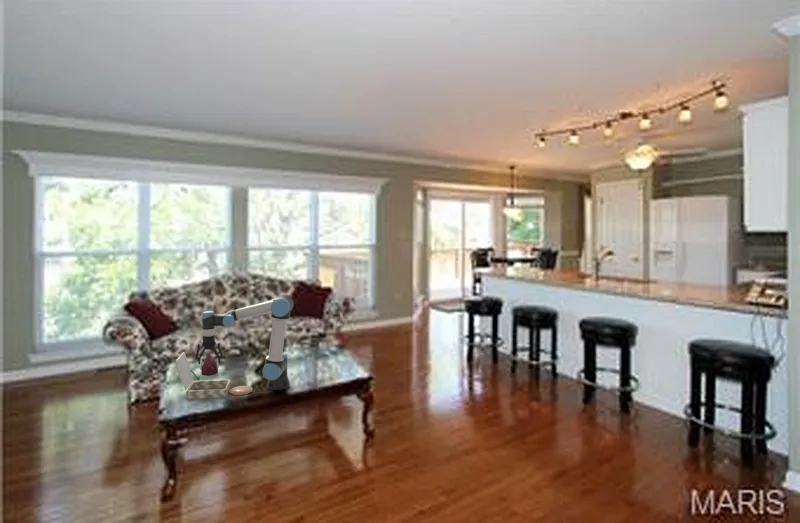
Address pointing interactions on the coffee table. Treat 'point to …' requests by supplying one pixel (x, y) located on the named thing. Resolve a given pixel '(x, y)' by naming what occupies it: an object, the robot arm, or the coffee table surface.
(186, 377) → the lid
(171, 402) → the coffee table surface
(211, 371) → the dark red pyramid
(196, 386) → the cold frame
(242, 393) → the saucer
